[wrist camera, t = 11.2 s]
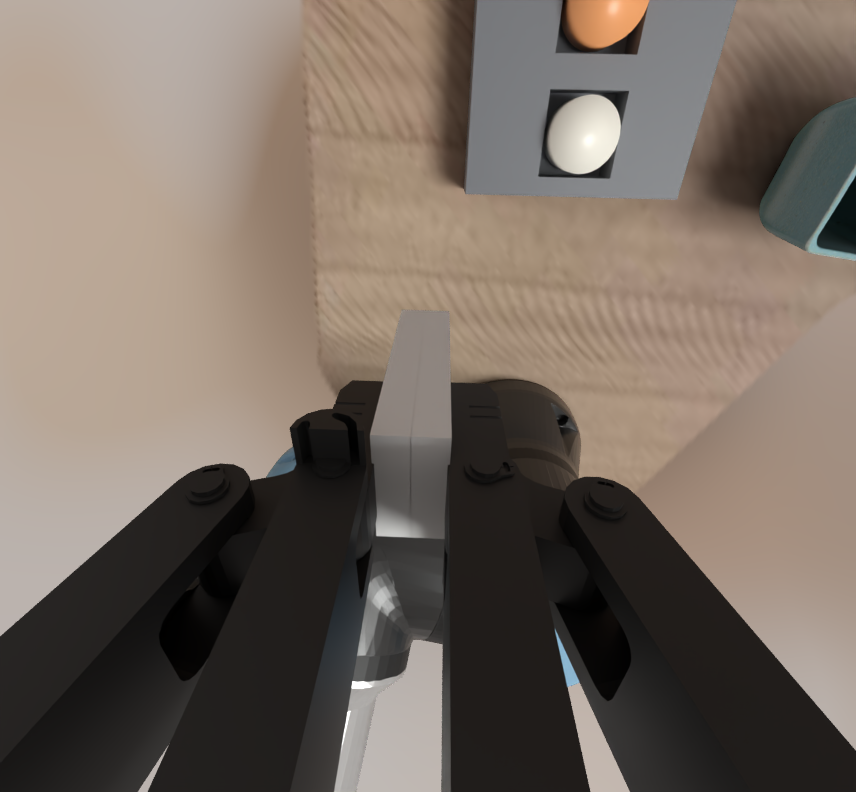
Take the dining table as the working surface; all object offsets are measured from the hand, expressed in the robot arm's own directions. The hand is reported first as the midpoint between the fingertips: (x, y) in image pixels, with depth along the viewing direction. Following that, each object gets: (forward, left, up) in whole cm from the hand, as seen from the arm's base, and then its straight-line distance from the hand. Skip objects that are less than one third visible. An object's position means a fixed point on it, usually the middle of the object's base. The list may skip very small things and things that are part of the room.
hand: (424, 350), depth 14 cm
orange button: (+13, -10, -23) cm, 28 cm away
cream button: (+6, -10, -23) cm, 25 cm away
